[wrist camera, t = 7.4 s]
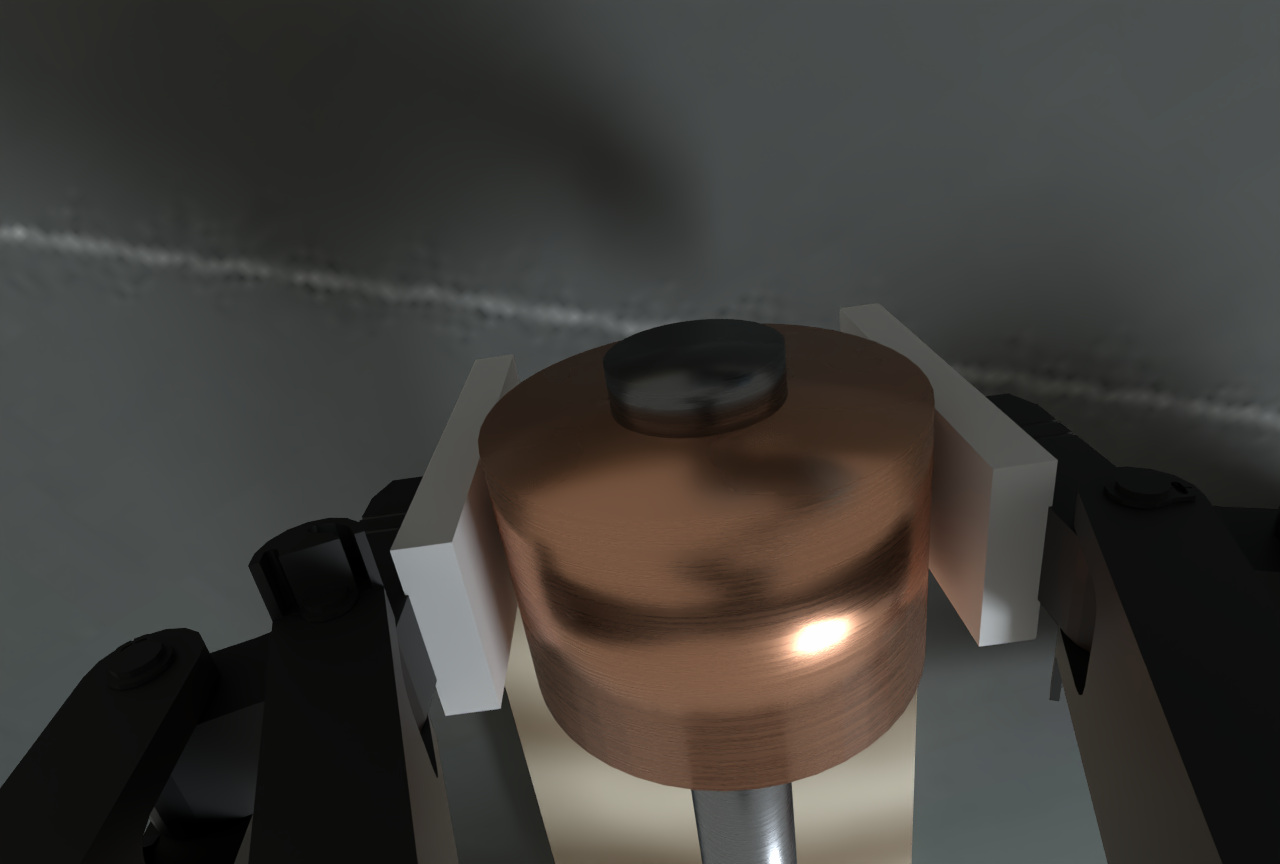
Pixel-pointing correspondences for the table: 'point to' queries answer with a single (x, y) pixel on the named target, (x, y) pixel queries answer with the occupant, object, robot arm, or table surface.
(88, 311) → the table surface
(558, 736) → the board
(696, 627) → the copper and grey mallet
